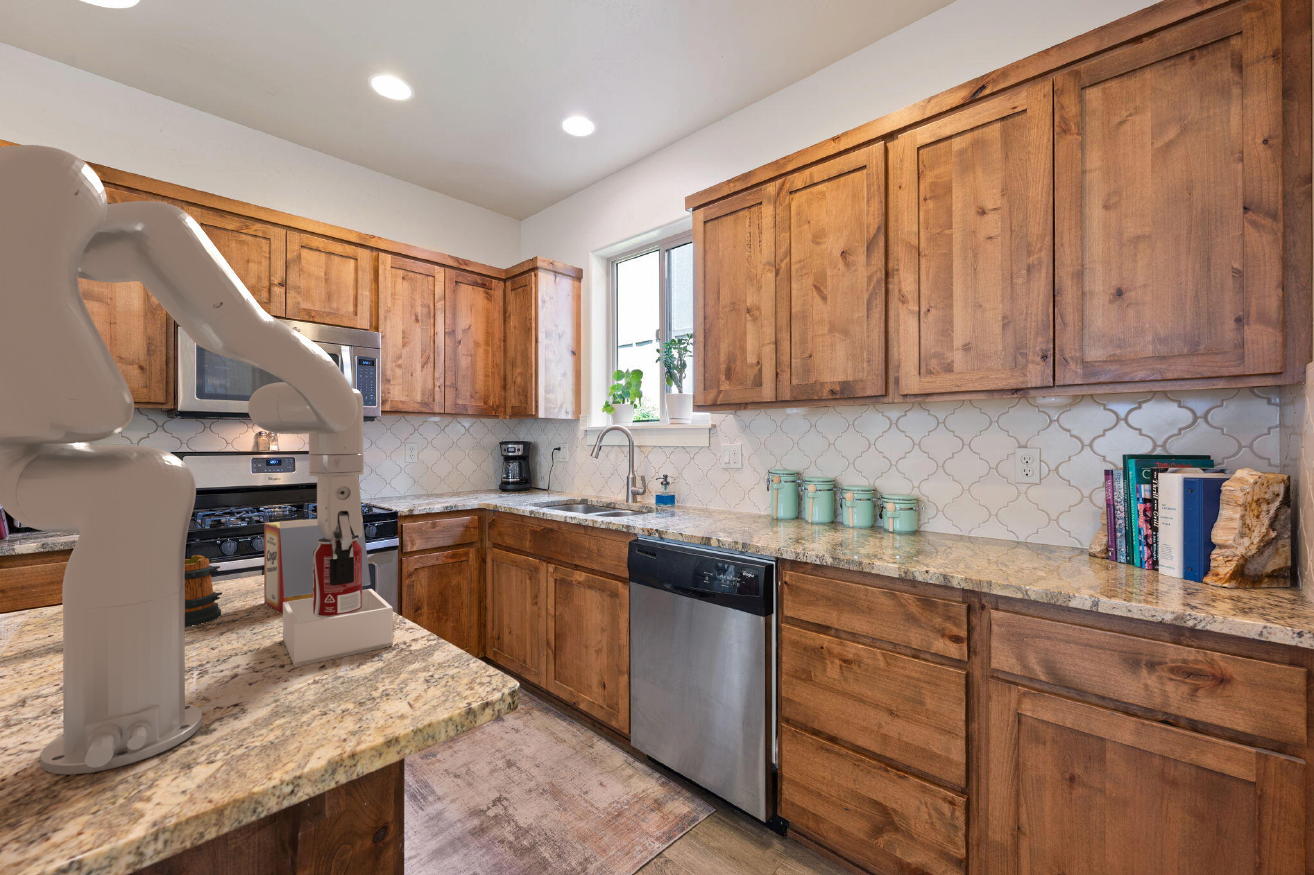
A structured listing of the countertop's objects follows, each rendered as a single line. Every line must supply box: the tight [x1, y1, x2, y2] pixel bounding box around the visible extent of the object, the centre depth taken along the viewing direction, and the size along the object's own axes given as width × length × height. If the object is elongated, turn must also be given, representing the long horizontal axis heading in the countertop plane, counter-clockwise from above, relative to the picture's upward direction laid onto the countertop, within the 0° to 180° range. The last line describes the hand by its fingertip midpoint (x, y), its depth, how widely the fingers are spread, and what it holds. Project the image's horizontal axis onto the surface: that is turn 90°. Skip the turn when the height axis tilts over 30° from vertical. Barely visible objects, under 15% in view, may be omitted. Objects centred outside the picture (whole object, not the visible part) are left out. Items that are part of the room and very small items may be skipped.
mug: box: [184, 554, 223, 628], centre depth 100 cm, size 13×10×12 cm
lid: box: [279, 518, 372, 598], centre depth 98 cm, size 13×13×1 cm
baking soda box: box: [263, 519, 313, 614], centre depth 111 cm, size 10×6×16 cm
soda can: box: [313, 536, 363, 619], centre depth 90 cm, size 7×7×12 cm
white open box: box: [282, 588, 394, 668], centre depth 90 cm, size 14×13×6 cm
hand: (337, 578), depth 90 cm, fingers closed on soda can, 6 cm apart
